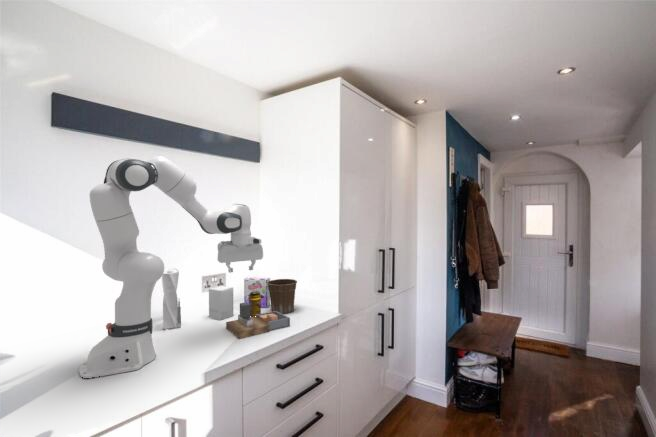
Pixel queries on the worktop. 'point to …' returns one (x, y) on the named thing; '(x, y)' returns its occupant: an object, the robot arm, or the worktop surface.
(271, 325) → the tray
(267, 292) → the candy box
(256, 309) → the condiment
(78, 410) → the worktop surface
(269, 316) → the tile
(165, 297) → the skyscraper
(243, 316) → the scraper
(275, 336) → the worktop surface
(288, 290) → the plant pot
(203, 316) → the worktop surface
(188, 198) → the robot arm
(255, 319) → the board
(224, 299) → the supplement box
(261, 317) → the tile
